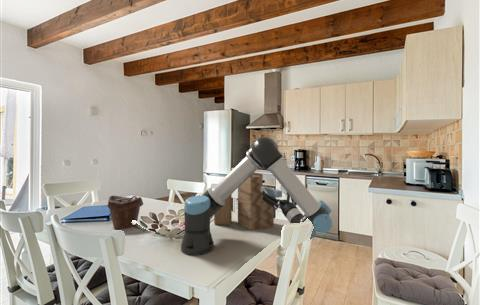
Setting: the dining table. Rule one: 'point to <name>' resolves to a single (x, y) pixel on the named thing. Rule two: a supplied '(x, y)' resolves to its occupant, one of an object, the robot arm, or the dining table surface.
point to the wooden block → (224, 213)
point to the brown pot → (124, 210)
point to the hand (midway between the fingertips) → (271, 187)
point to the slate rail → (273, 192)
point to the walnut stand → (254, 204)
